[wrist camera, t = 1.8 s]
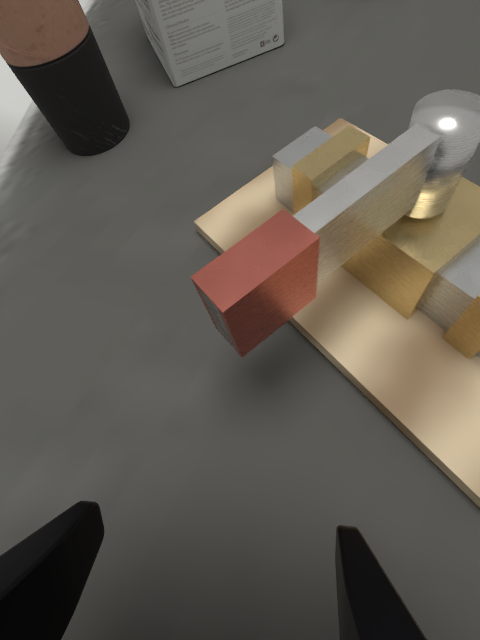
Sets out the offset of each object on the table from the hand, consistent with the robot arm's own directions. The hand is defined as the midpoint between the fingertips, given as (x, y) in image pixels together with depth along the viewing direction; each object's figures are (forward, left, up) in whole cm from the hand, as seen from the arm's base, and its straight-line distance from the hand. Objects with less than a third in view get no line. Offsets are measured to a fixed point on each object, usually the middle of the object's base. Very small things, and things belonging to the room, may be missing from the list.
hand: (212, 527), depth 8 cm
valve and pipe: (+5, -17, -12) cm, 22 cm away
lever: (+5, -11, -7) cm, 14 cm away
